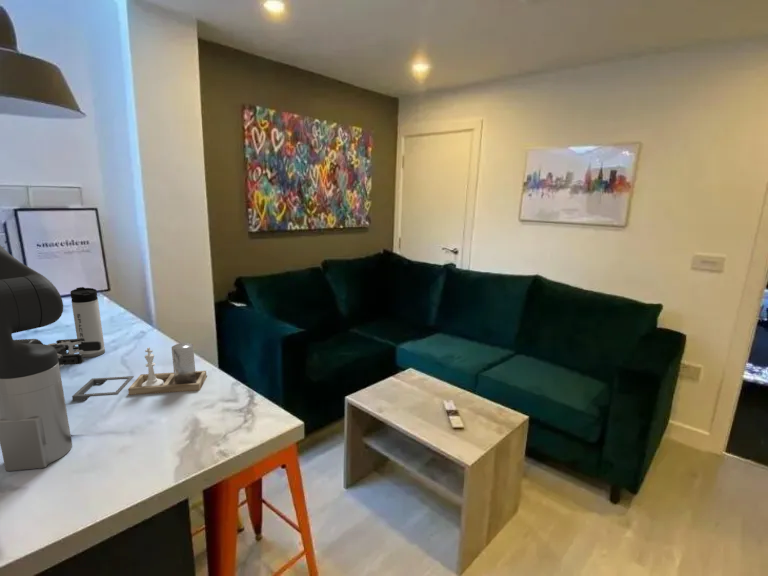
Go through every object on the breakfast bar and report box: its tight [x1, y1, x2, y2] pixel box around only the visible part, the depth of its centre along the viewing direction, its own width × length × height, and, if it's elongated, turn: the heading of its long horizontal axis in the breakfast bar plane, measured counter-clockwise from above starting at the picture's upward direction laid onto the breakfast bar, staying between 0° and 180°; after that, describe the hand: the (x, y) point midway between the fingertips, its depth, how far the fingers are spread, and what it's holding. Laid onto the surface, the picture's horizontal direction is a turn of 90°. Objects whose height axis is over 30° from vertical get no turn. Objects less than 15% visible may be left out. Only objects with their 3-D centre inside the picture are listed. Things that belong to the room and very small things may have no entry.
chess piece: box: [141, 347, 164, 387], centre depth 100 cm, size 5×5×10 cm
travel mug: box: [69, 286, 106, 359], centre depth 121 cm, size 6×7×20 cm
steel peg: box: [171, 342, 196, 384], centre depth 102 cm, size 5×5×10 cm
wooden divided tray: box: [127, 370, 208, 396], centre depth 102 cm, size 8×16×2 cm, turn 101°
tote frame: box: [71, 375, 134, 402], centre depth 101 cm, size 10×10×1 cm
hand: (91, 351), depth 97 cm, fingers open, 8 cm apart
